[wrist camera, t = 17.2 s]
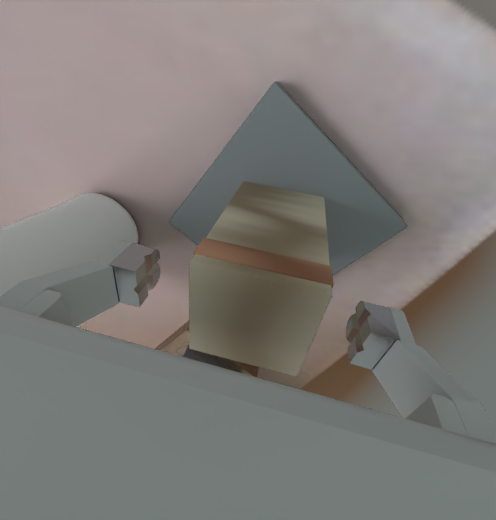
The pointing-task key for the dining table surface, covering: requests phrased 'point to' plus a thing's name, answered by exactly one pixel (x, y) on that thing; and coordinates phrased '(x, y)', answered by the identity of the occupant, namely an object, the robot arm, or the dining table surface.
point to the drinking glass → (62, 237)
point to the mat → (292, 179)
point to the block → (261, 279)
